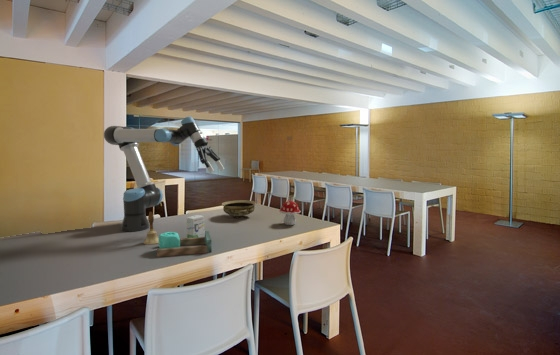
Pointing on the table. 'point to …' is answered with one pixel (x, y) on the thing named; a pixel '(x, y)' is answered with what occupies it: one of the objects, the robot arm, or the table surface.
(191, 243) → the channel
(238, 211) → the ceramic bowl
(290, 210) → the decorative mushroom
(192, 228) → the ink box
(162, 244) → the decorative dice
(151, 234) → the hand bell
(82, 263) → the table surface
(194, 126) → the robot arm
